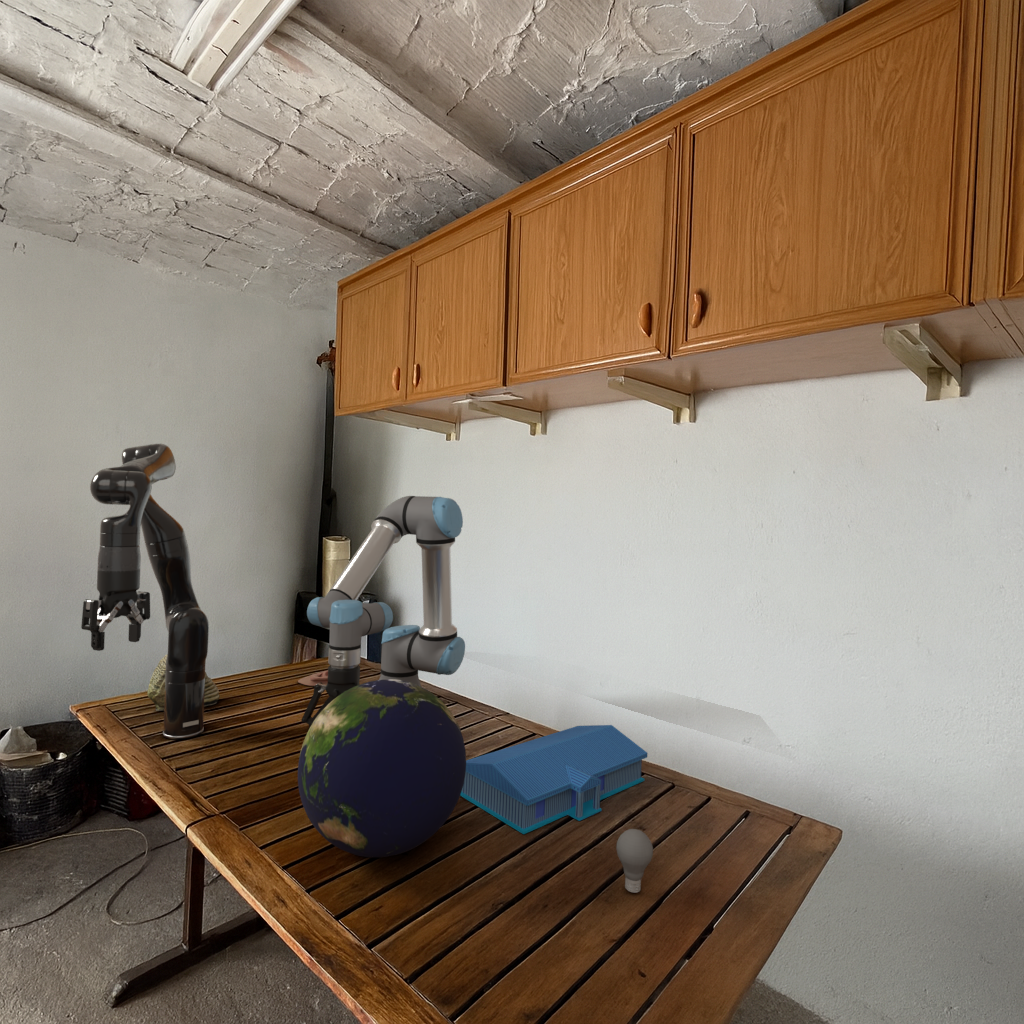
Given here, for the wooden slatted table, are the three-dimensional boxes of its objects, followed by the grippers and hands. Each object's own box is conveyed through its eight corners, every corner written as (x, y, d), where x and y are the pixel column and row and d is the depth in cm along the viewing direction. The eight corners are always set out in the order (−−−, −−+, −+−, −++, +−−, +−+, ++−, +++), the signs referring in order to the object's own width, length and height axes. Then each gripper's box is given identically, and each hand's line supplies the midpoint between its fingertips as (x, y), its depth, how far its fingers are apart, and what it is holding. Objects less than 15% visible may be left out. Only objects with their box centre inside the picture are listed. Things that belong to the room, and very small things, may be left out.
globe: (256, 866, 108) (262, 691, 107) (361, 794, 135) (366, 654, 135) (408, 917, 96) (416, 722, 96) (488, 827, 124) (495, 675, 123)
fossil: (144, 707, 182) (145, 655, 182) (212, 696, 194) (213, 647, 194) (151, 716, 175) (153, 662, 175) (221, 703, 188) (223, 653, 188)
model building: (535, 841, 120) (537, 789, 119) (456, 793, 138) (458, 747, 137) (656, 785, 146) (658, 742, 146) (576, 751, 164) (578, 712, 164)
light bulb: (610, 879, 108) (613, 822, 108) (644, 879, 109) (647, 822, 109) (619, 902, 102) (622, 840, 102) (655, 901, 103) (658, 840, 103)
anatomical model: (293, 672, 210) (311, 663, 221) (292, 684, 210) (310, 675, 221) (330, 676, 207) (346, 667, 219) (329, 688, 208) (345, 678, 219)
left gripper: (103, 572, 123) (100, 655, 123) (161, 565, 136) (159, 640, 137) (72, 569, 125) (70, 651, 125) (133, 563, 138) (131, 637, 139)
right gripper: (289, 665, 150) (285, 755, 151) (388, 673, 147) (384, 765, 148) (303, 657, 158) (299, 743, 158) (397, 665, 155) (393, 752, 155)
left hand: (116, 645), depth 131 cm, fingers open, 8 cm apart
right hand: (340, 754), depth 153 cm, fingers open, 12 cm apart
